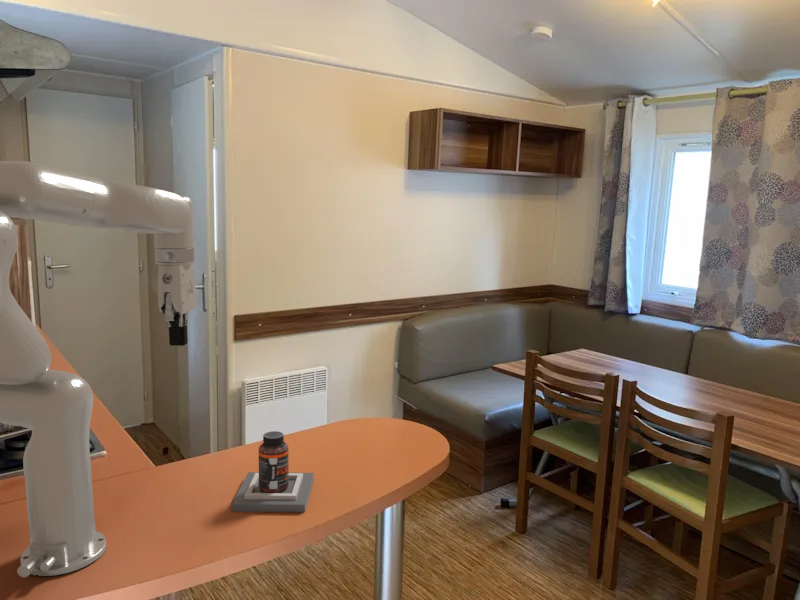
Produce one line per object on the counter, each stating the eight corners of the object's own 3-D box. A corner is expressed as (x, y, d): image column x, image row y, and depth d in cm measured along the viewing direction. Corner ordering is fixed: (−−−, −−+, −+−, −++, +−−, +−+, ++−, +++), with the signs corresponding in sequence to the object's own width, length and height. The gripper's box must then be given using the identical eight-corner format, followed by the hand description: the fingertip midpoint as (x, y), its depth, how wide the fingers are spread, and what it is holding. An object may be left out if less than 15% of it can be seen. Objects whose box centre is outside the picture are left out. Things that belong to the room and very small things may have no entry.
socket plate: (304, 511, 119) (304, 500, 118) (231, 511, 119) (231, 500, 118) (313, 479, 133) (313, 469, 132) (248, 478, 132) (248, 468, 132)
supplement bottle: (280, 496, 122) (280, 441, 120) (253, 492, 123) (252, 438, 121) (293, 483, 127) (293, 430, 126) (267, 479, 129) (266, 427, 127)
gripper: (181, 260, 118) (184, 353, 121) (204, 253, 133) (207, 337, 136) (141, 259, 118) (146, 353, 121) (169, 253, 133) (173, 336, 136)
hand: (178, 344), depth 129 cm, fingers closed
